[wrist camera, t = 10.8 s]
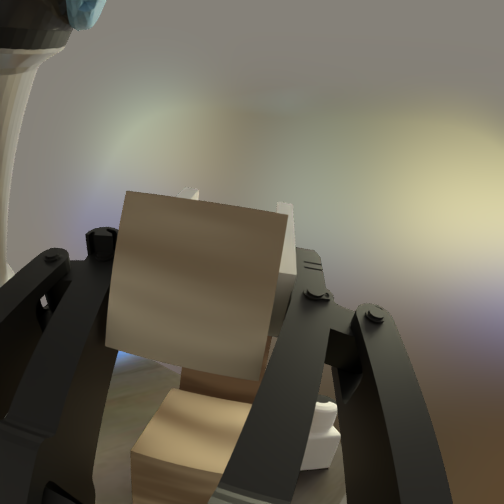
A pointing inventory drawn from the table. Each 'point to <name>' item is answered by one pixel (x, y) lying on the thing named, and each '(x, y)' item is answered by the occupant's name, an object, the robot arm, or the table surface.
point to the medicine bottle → (321, 435)
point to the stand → (223, 383)
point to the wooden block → (194, 283)
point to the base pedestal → (185, 448)
